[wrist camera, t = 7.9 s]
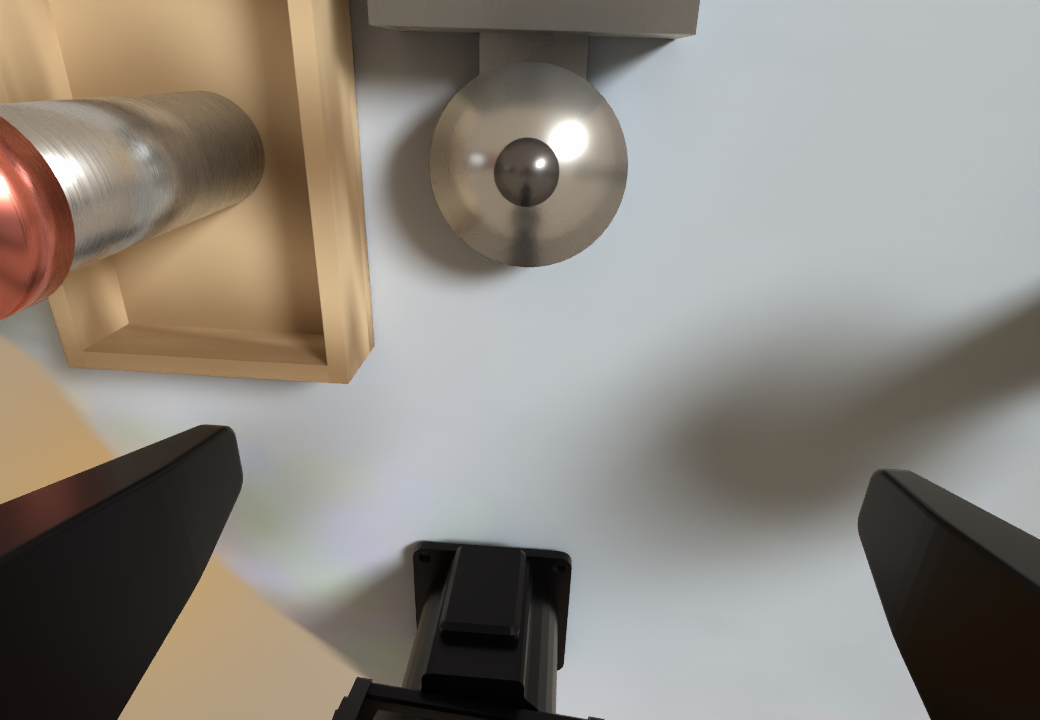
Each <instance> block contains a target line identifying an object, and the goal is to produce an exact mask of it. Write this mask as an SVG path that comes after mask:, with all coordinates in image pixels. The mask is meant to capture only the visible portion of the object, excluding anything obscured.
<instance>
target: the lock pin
mask: <svg viewBox="0 0 1040 720" xmlns="http://www.w3.org/2000/svg"><path fill="white" fill-rule="evenodd" d="M264 167H265V153H264V147H263V143H262V140H261V137H260V135H259V132H258V130H257V128H256V127H255V125H254V123H253V122H252V120H251V119H250V118H249V116H248V115H247V114H246V113H245V112H244V111H243V110H242V109H241V108H240V107H239V106H238V105H237V104H235V103H234V102H232V101H231V100H229V99H227V98H226V97H224V96H221V95H219V94H216V93H213V92H209V91H184V92H169V93H154V94H139V95H124V96H109V97H94V98H79V99H64V100H49V101H35V102H20V103H5V104H0V320H1V319H3V318H5V317H8V316H10V315H12V314H14V313H17V312H19V311H21V310H23V309H26V308H28V307H30V306H32V305H35V304H37V303H39V302H41V301H43V300H45V299H46V298H48V297H49V296H50V295H52V294H53V293H54V292H55V291H56V290H57V289H58V288H59V287H60V286H61V285H62V283H63V281H64V280H65V278H66V277H67V275H68V273H69V272H71V271H74V270H76V269H79V268H81V267H83V266H86V265H88V264H91V263H93V262H96V261H98V260H100V259H103V258H105V257H108V256H110V255H113V254H115V253H117V252H120V251H122V250H125V249H127V248H130V247H132V246H134V245H137V244H139V243H142V242H144V241H147V240H149V239H151V238H154V237H156V236H159V235H161V234H163V233H166V232H168V231H171V230H173V229H176V228H178V227H180V226H183V225H185V224H188V223H190V222H193V221H195V220H197V219H200V218H202V217H205V216H207V215H210V214H212V213H214V212H217V211H219V210H222V209H224V208H227V207H229V206H231V205H234V204H236V203H239V202H241V201H243V200H245V199H246V198H247V197H249V196H250V195H251V194H252V193H253V192H254V191H255V190H256V188H257V187H258V185H259V183H260V181H261V179H262V176H263V173H264Z"/></svg>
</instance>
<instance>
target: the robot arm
mask: <svg viewBox="0 0 1040 720" xmlns="http://www.w3.org/2000/svg"><path fill="white" fill-rule="evenodd" d="M242 483H243V472H242V466H241V461H240V456H239V450H238V445H237V440H236V436H235V433H234V431H233V430H232V429H231V428H230V427H228V426H220V425H199V426H197V427H194V428H192V429H189V430H187V431H184V432H182V433H179V434H177V435H174V436H172V437H169V438H167V439H164V440H161V441H159V442H156V443H154V444H151V445H149V446H146V447H144V448H141V449H139V450H136V451H134V452H131V453H129V454H126V455H124V456H121V457H119V458H116V459H114V460H111V461H109V462H106V463H104V464H101V465H99V466H96V467H94V468H91V469H89V470H86V471H83V472H81V473H78V474H76V475H73V476H71V477H68V478H66V479H63V480H61V481H58V482H56V483H53V484H51V485H48V486H46V487H43V488H41V489H38V490H36V491H33V492H31V493H28V494H26V495H23V496H21V497H18V498H15V499H13V500H10V501H8V502H5V503H3V504H0V720H117V719H118V717H119V716H120V714H121V712H122V711H123V709H124V707H125V706H126V704H127V702H128V701H129V699H130V697H131V695H132V694H133V692H134V690H135V689H136V687H137V685H138V684H139V682H140V680H141V679H142V677H143V675H144V673H145V672H146V670H147V669H148V667H149V665H150V663H151V662H152V660H153V658H154V657H155V655H156V653H157V652H158V650H159V648H160V647H161V645H162V643H163V641H164V640H165V638H166V636H167V635H168V633H169V631H170V629H171V628H172V626H173V624H174V623H175V621H176V619H177V618H178V616H179V614H180V613H181V611H182V609H183V608H184V606H185V604H186V603H187V601H188V599H189V598H190V596H191V594H192V592H193V591H194V589H195V587H196V585H197V583H198V582H199V580H200V578H201V576H202V574H203V571H204V570H205V568H206V566H207V563H208V561H209V559H210V557H211V555H212V552H213V550H214V548H215V546H216V544H217V541H218V539H219V537H220V535H221V533H222V531H223V528H224V526H225V524H226V522H227V520H228V517H229V515H230V513H231V511H232V509H233V506H234V504H235V502H236V500H237V498H238V495H239V493H240V491H241V487H242ZM858 532H859V536H860V539H861V542H862V545H863V548H864V551H865V554H866V557H867V560H868V563H869V567H870V570H871V573H872V576H873V579H874V582H875V585H876V588H877V591H878V594H879V597H880V600H881V603H882V606H883V609H884V612H885V615H886V618H887V621H888V623H889V626H890V629H891V632H892V634H893V637H894V639H895V641H896V644H897V646H898V648H899V651H900V653H901V655H902V658H903V660H904V662H905V664H906V666H907V668H908V671H909V673H910V675H911V677H912V679H913V682H914V684H915V686H916V688H917V690H918V693H919V695H920V697H921V699H922V701H923V704H924V706H925V708H926V710H927V712H928V714H929V717H930V719H931V720H1040V539H1038V538H1036V537H1034V536H1032V535H1030V534H1028V533H1027V532H1025V531H1023V530H1021V529H1019V528H1017V527H1015V526H1013V525H1011V524H1010V523H1008V522H1006V521H1004V520H1002V519H1000V518H998V517H996V516H994V515H993V514H991V513H989V512H987V511H985V510H983V509H981V508H979V507H977V506H976V505H974V504H972V503H970V502H968V501H966V500H964V499H962V498H961V497H959V496H957V495H955V494H953V493H951V492H949V491H947V490H945V489H944V488H942V487H940V486H938V485H936V484H934V483H932V482H930V481H928V480H927V479H925V478H923V477H921V476H919V475H917V474H915V473H913V472H911V471H907V470H896V469H879V470H877V471H875V472H874V474H873V475H872V477H871V479H870V482H869V485H868V488H867V491H866V495H865V498H864V501H863V504H862V507H861V510H860V513H859V517H858ZM422 553H426V554H429V555H430V556H425V555H423V554H422ZM556 563H561V564H563V565H562V566H558V565H555V564H556ZM413 566H414V584H415V603H416V621H417V632H416V636H415V640H414V643H413V647H412V651H411V655H410V658H409V662H408V666H407V669H406V673H405V677H404V680H403V684H402V688H401V687H395V686H390V685H384V684H378V683H372V682H373V680H372V679H366V678H360V677H357V678H356V680H355V682H354V685H353V687H352V689H351V691H350V693H349V695H348V697H344V698H343V700H342V702H341V704H340V706H339V708H338V709H337V710H335V713H334V716H333V719H332V720H604V719H601V718H595V717H588V719H583V718H577V717H571V716H566V715H560V714H556V684H557V670H560V669H561V668H562V667H563V665H564V654H565V642H566V630H567V618H568V606H569V594H570V582H571V570H572V561H571V558H570V556H569V555H568V554H566V553H564V552H559V551H546V550H532V549H518V548H505V547H491V546H477V545H463V544H450V543H436V542H422V543H419V544H418V545H417V546H416V548H415V551H414V555H413Z"/></svg>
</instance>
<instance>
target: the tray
mask: <svg viewBox="0 0 1040 720" xmlns="http://www.w3.org/2000/svg"><path fill="white" fill-rule="evenodd" d="M184 91H209V92H213V93H216V94H219V95H221V96H224V97H226V98H227V99H229V100H231V101H232V102H234V103H235V104H237V105H238V106H239V107H240V108H241V109H242V110H243V111H244V112H245V113H246V114H247V115H248V116H249V118H250V119H251V120H252V122H253V123H254V125H255V127H256V128H257V130H258V132H259V135H260V137H261V140H262V143H263V147H264V153H265V167H264V173H263V176H262V179H261V181H260V183H259V185H258V187H257V188H256V190H255V191H254V192H253V193H252V194H251V195H250V196H249V197H247V198H246V199H245V200H243V201H241V202H239V203H236V204H234V205H231V206H229V207H227V208H224V209H222V210H219V211H217V212H214V213H212V214H210V215H207V216H205V217H202V218H200V219H197V220H195V221H193V222H190V223H188V224H185V225H183V226H180V227H178V228H176V229H173V230H171V231H168V232H166V233H163V234H161V235H159V236H156V237H154V238H151V239H149V240H147V241H144V242H142V243H139V244H137V245H134V246H132V247H130V248H127V249H125V250H122V251H120V252H117V253H115V254H113V255H110V256H108V257H105V258H103V259H100V260H98V261H96V262H93V263H91V264H88V265H86V266H83V267H81V268H79V269H76V270H74V271H71V272H69V273H68V275H67V277H66V278H65V280H64V281H63V283H62V285H61V286H60V287H59V288H58V289H57V290H56V291H55V292H54V293H53V294H52V295H50V296H49V297H48V300H49V303H50V306H51V310H52V313H53V316H54V320H55V323H56V326H57V330H58V333H59V336H60V339H61V343H62V346H63V349H64V353H65V356H66V359H67V363H68V366H69V367H75V368H91V369H108V370H124V371H141V372H158V373H174V374H191V375H208V376H224V377H241V378H258V379H274V380H291V381H307V382H324V383H341V384H348V383H349V382H350V380H351V379H352V377H353V376H354V375H355V373H356V372H357V370H358V369H359V367H360V366H361V365H362V363H363V362H364V360H365V359H366V357H367V356H368V354H369V353H370V352H371V350H372V349H373V347H374V333H373V320H372V306H371V293H370V279H369V266H368V252H367V238H366V225H365V211H364V198H363V184H362V171H361V157H360V144H359V130H358V117H357V103H356V90H355V76H354V63H353V49H352V36H351V22H350V9H349V0H0V104H5V103H20V102H35V101H49V100H64V99H79V98H94V97H109V96H124V95H139V94H154V93H169V92H184Z"/></svg>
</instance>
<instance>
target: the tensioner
mask: <svg viewBox="0 0 1040 720" xmlns="http://www.w3.org/2000/svg"><path fill="white" fill-rule="evenodd" d="M699 3H700V0H367V4H368V20H369V25H372V26H377V27H383V28H388V29H393V30H399V31H432V32H465V33H480V38H479V75H478V76H476V77H475V78H474V79H472V80H471V81H469V82H468V83H467V84H466V85H465V86H463V87H462V88H461V89H460V90H459V91H458V92H457V93H456V94H455V96H454V97H453V98H452V99H451V100H450V102H449V103H448V104H447V106H446V108H445V109H444V111H443V113H442V114H441V116H440V119H439V121H438V123H437V125H436V128H435V131H434V135H433V138H432V142H431V148H430V159H429V170H430V180H431V185H432V189H433V194H434V196H435V199H436V202H437V205H438V207H439V209H440V211H441V213H442V215H443V217H444V219H445V220H446V222H447V223H448V225H449V226H450V228H451V229H452V230H453V231H454V232H455V233H456V235H457V236H458V237H459V238H460V239H461V240H462V241H464V242H465V243H466V244H467V245H468V246H469V247H471V248H472V249H474V250H475V251H476V252H478V253H480V254H482V255H483V256H485V257H487V258H489V259H492V260H494V261H497V262H500V263H503V264H507V265H511V266H519V267H539V266H546V265H551V264H555V263H558V262H561V261H564V260H566V259H569V258H571V257H573V256H575V255H576V254H578V253H580V252H582V251H583V250H584V249H586V248H587V247H588V246H590V245H591V244H592V243H593V242H594V241H595V240H596V239H597V238H598V237H599V236H600V235H601V234H602V233H603V232H604V231H605V229H606V228H607V227H608V226H609V224H610V223H611V221H612V219H613V218H614V216H615V214H616V212H617V210H618V208H619V206H620V203H621V201H622V198H623V194H624V191H625V187H626V180H627V171H628V158H627V148H626V143H625V139H624V135H623V132H622V129H621V126H620V124H619V121H618V119H617V117H616V116H615V114H614V112H613V110H612V108H611V107H610V105H609V104H608V103H607V101H606V100H605V98H604V97H603V96H602V95H601V94H600V93H599V92H598V91H597V90H596V89H595V88H594V87H593V86H592V85H591V84H590V83H589V82H587V81H586V76H587V61H588V46H589V36H597V37H630V38H663V39H679V38H683V37H687V36H692V35H695V34H696V26H697V19H698V11H699Z"/></svg>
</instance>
